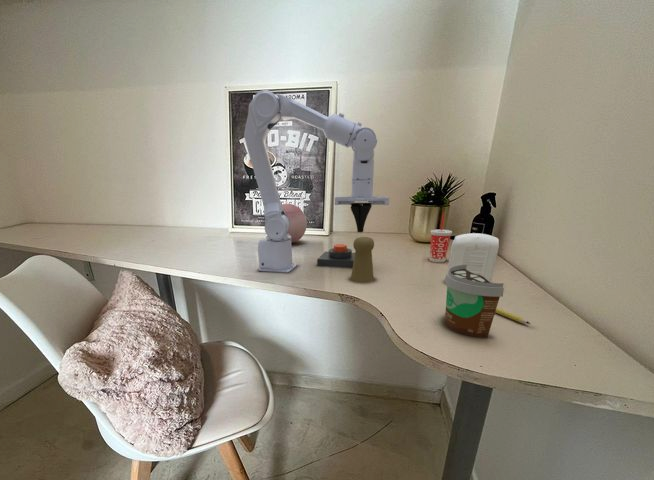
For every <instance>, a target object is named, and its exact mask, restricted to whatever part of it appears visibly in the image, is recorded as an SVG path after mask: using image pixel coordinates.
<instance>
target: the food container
mask: <svg viewBox="0 0 654 480" xmlns="http://www.w3.org/2000/svg"><path fill="white" fill-rule="evenodd" d="M466 268H467V265H458V266H454V267H451V268H450V269H449V271H448V270H447V271H448V272H446V274H445V277H444V279H443V283H444V284H445V285H446V286H447V287H446V299H445V314H444V325H445V326H446V327H447V328H448V329H450V330H452V331H453V332H456V333H459V334H461V335H465V336H469V337H479V338H488V337H489V335H490V334H489V333H490V331H491V327H492V324H493V321H494V317H495V314H496V312H495V311H496V308H498V305H499V301H500V298H503V297H504V289H505V288H504V282H491V283H490V282H489V281H488V280H487V279H486V278H484V277H483V276H481V275H477V274H474V273H471V272H469V271H468V270H466Z"/></svg>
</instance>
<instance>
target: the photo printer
mask: <svg viewBox="0 0 654 480" xmlns="http://www.w3.org/2000/svg"><path fill="white" fill-rule="evenodd" d="M499 243H500V239H499V238H498V237H496V236H494V235H490V234H487V233H478V232H477V233H476V232H472V233H464V234H463V233H462V234H459V235H456V236H454V239H453V241H452V243H451V248H450V254H449V259H448V266H447V270H446V271H447V272H448V271H449V269H450V268H451V267H454V266H458V265H467V268H466V270H468V271H469V272H471V273H474V274H477V275H481V276H483V277H484V278H486V279H487V280H488V281H489V282H490V283H492V280H493V275H494V271H495V266H496V262H497V258H498V253H499V249H500V244H499ZM447 272H446V273H447Z"/></svg>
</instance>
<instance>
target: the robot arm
mask: <svg viewBox="0 0 654 480" xmlns="http://www.w3.org/2000/svg"><path fill="white" fill-rule="evenodd" d="M293 119H294V120H297V121H299V122H302V123H304V124H307V125H309V126H311V127H314V128H316V129H318V130H320V131H322V132H323V135H324V137H325V138H326V139H327V140H330V141H332V142H334V143H335V144H338V145H341V146H343V147H345V148H347V149H348V148H350V147H351V150H352V161H351V181H350V182H351V183H350V184H351V185H350V196H335V197H334V206H339V205H342V206H343V205H344V206H345V205H346V206H347V205H348V206H350V211H351V213H352V215H353V217H354V220H355V224H356V230H357V231H356V232H357V233H364V230H365V229H364V228H365V224H366V222H367V218H368V215H369V213H370V211H371V209H372V207H373V206H375V205H377V206H380V205H381V206H389V204H390V196H373V191H374V190H373V189H374V170H375V158H374V157H375V150H374V149H375V148H376V147H377V144H378V139H377V135H376V133H375V131H374V130H373V129H372V128H370V127H362V122H357V123H356V122H354V121H352V120H349V119H348V118H345V114H344V113H341V112H339V114H337V113H333V114H331V115H329V116H326V115H324V114H323V113H321V112H319V111H317V110H315V109H313V108H312V107H309V106H307V105H305V104H303V103H301V102H299V101H297V100H295V99H293V98H291V97H289V96H285V95H283V94H279V93H276V94H275V93H274V92H273V91H271V90H268V89H262V90H259V91H258V92H256V93H255V95H254V97H253V98H252V99H251V101H250V102H249V104H248V113H247V118H246V122H245V126H244V133H243V137H244V142H245V145H246V148H247V153H248V155H249V159H250V162H251V166H252V170H253V173H254V176H255V180H256V185H257V187H258V191H259V194H260V198H261V201H262V206H263V215H264V219H265V223H264V232H265V234H266V236H265V238H264V237H263V238H260V239H259V241H258V244H257V255H258V256H257V257H258V271H259V272H260V271H261V272H272V273H286V274H287V273H290V272H291V271H292V270H294V269H295V268H296V267H297V266H298V264H297V263H293V249H292V247H293V246H292V244H293V243H291V236H290V235H289V233H288V232H287V231H288V230H289V228H290V219H289V217H288V216H287V215H286V214H285V212H284V209H283V206H282V204H283V203H282V202H281V198H280V194H279V191H278V187H277V183H276V179H275V175H274V171H273V168H272V163H271V159H270V156H269V152H268V148H267V146H266V139H267V137H268V135H269V133H270V132H271V129H272V128H274V127H275V126H276V125H277V124H279V122H280V121H281V120H282V121H284V122H285V121H289V120H293Z"/></svg>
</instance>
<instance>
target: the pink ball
mask: <svg viewBox="0 0 654 480" xmlns="http://www.w3.org/2000/svg"><path fill="white" fill-rule="evenodd" d="M281 204H282V206H283V209H284V212H285V214H286V215H287V216H288V217H289V219H290V228H289V230H288V231H287V232H288V233H289V235H290V236H291V244H295V243H296V242H298V241H299V240H301V239H302V238H303V236H305V233H306V230H307V226H308V223H307V222H308V221H307V217H306V214H305V213H304V211H303V210H302V209H301V208H300V207H299V206H297V205H295V204H293V203H281Z"/></svg>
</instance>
